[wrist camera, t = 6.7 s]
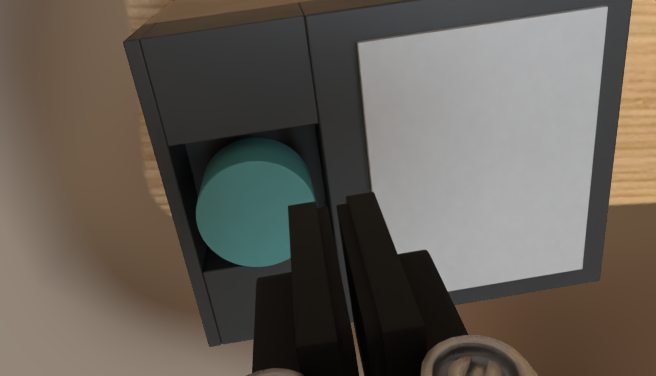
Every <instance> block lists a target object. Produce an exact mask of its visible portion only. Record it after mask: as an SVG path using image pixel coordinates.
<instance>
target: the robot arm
mask: <svg viewBox="0 0 656 376" xmlns="http://www.w3.org/2000/svg"><path fill="white" fill-rule="evenodd" d="M336 207H337V215H338V221H339V228H340V235H341V241H342V248H343V255H344V262H345V268H346V275H347V282H348V289H349V295H350V302H351V309H352V315H353V322H354V327H355V332H356V338H357V343H358V347H359V352H360V357H361V362H362V367H363V372H364V376H538V375H537V374H536V372H535V371H534V370H533V368H531V366H530V365H529V364H528V363H527V361H526V360H525V359H524V357H522V356H521V355H520V354H519V353H518V352H517V351H516V350H515V349H514V348H512V347H510V346H508V345H507V344H505V343H503V342H501V341H499V340H496V339H492V338H489V337H485V336H475V335H468V333H467V331H466V329H465V327H464V324H463V323H462V321H461V318H460V316H459V314H458V312H457V310H456V308H455V306H454V304H453V302H452V299H451V297H450V295H449V293H448V291H447V289H446V287H445V285H444V283H443V281H442V279H441V276H440V274H439V272H438V270H437V268H436V266H435V264H434V262H433V260H432V258H431V256H430V254H429V252H428V251H427V250H419V251H413V252H407V253H401V254H397V251H396V248H395V246H394V243H393V241H392V238H391V235H390V233H389V230H388V227H387V225H386V222H385V220H384V217H383V214H382V212H381V209H380V206H379V204H378V201H377V199H376V196H375V193H374V192H368V193H362V194H356V195H350V196H346V204H340V205H336ZM288 218H289V236H290V254H291V272H288V273H282V274H276V275H270V276H264V277H258V278H257V281H256V299H255V321H254V344H253V367H252V374H249V375H247V376H359V372H358V365H357V359H356V353H355V346H354V341H353V335H352V329H351V324H350V318H349V313H348V308H347V303H346V298H345V293H344V288H343V283H342V278H341V272H340V267H339V262H338V257H337V252H336V247H335V242H334V237H333V232H332V227H331V222H330V216H329V211H328V207H322V208H317V207H316V202H315V201H313V202H307V203H301V204H295V205H289V206H288Z"/></svg>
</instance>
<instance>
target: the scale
mask: <svg viewBox="0 0 656 376" xmlns="http://www.w3.org/2000/svg"><path fill="white" fill-rule="evenodd" d="M631 7H632V0H316V1H309V2H302V3H300V4H298V3H294V4H287V5H280V6H273V7H266V8H259V9H252V10H245V11H238V12H231V13H224V14H217V15H210V16H203V17H196V18H189V19H183V20H176V21H169V22H162V23H157V24H148V25H143V26H141V27H140V28H139V29H138V30H137V31H135V32H134V33H133V34H132V35H131V36H129V37H128V38H127V39H126V40H125V41H124V42H123V44H124V48H125V51H126V55H127V58H128V62H129V65H130V69H131V72H132V76H133V79H134V83H135V87H136V90H137V94H138V97H139V101H140V104H141V108H142V111H143V115H144V118H145V122H146V125H147V129H148V132H149V136H150V139H151V143H152V147H153V150H154V154H155V157H156V161H157V164H158V168H159V171H160V175H161V178H162V182H163V185H164V189H165V192H166V196H167V199H168V203H169V207H170V210H171V214H172V217H173V221H174V224H175V228H176V231H177V235H178V238H179V241H180V245H181V249H182V252H183V256H184V259H185V263H186V267H187V270H188V273H189V277H190V280H191V284H192V288H193V291H194V295H195V298H196V301H197V305H198V309H199V312H200V316H201V319H202V323H203V327H204V330H205V333H206V337H207V341H208V344H209V346H210V347H212V346H217V345H221V343H222V344H228V343H233V342H240V341H246V340H252V339H254V321H255V299H256V281H257V278H258V277H264V276H270V275H276V274H282V273H288V272H291V258H289V259H287V260H285V261H283V262H281V263H278V264H275V265H270V266H264V267H249V266H242V265H238V264H235V263H232V262H230V261H228V260H225V259H223V258H222V257H220V256H219V255H217V254H216V253H215V252H214V251H213V250H211V248H210V247H209V246H208V245H207V244H206V243H205V241H204V240H203V238H202V236H201V234H200V232H199V229H198V226H197V222H196V205H197V201H198V196H199V192H200V188H201V184H202V179H203V176H204V172H205V170H206V167H207V165H208V164H209V162H210V160H211V159H212V158H213V157H214V156H215V154H216V153H218V152H219V151H220V150H221V149H222V148H224V147H225V146H227V145H229V144H231V143H233V142H236V141H238V140H242V139H247V138H267V139H272V140H275V141H278V142H281V143H283V144H285V145H287V146H288V147H290V148H291V149H293V150H294V151H295V152H296V153H297V154H298V155H299V156H300V157H301V158H302V159H303V161H304V162H305V164H306V166H307V167H308V170H309V172H310V176H311V180H312V185H313V190H314V195H315V201H316V206H317V208H322V207H328V211H329V216H330V222H331V227H332V232H333V237H334V242H335V247H336V252H337V257H338V262H339V267H340V272H341V278H342V283H343V288H344V293H345V298H346V303H347V308H348V313H349V318H350V323H352V322H353V315H352V309H351V302H350V295H349V289H348V282H347V275H346V268H345V262H344V255H343V248H342V241H341V235H340V228H339V221H338V215H337V207H336V205H340V204H346V196H350V195H356V194H362V193H368V192H374V193H375V196H376V199H377V201H378V204H379V206H380V209H381V212H382V214H383V217H384V220H385V222H386V225H387V227H388V230H389V233H390V235H391V238H392V241H393V243H394V246H395V248H396V251H397V254H401V253H407V252H413V251H419V250H427V251H428V252H429V254H430V256H431V258H432V260H433V262H434V264H435V266H436V268H437V270H438V272H439V274H440V276H441V279H442V281H443V283H444V285H445V287H446V289H447V291H448V293H449V295H450V297H451V299H452V302H453V304H454V305H459V304H464V303H471V302H476V301H482V300H488V299H494V298H500V297H506V296H512V295H518V294H524V293H529V292H536V291H542V290H547V289H553V288H559V287H565V286H571V285H577V284H582V283H588V282H595V281H599V279H600V273H601V264H602V256H603V248H604V239H605V230H606V222H607V213H608V205H609V196H610V187H611V179H612V170H613V162H614V153H615V145H616V136H617V127H618V119H619V110H620V102H621V93H622V84H623V76H624V67H625V59H626V50H627V41H628V33H629V24H630V16H631Z"/></svg>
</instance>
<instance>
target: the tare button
mask: <svg viewBox="0 0 656 376" xmlns="http://www.w3.org/2000/svg"><path fill="white" fill-rule="evenodd" d="M313 201H315V195H314V190H313V185H312V180H311V176H310V172H309V170H308V167H307V166H306V164H305V162H304V161H303V159H302V158H301V157H300V156H299V155H298V154H297V153H296V152H295V151H294V150H293V149H291V148H290V147H288V146H287V145H285V144H283V143H281V142H278V141H275V140H272V139H267V138H247V139H242V140H238V141H236V142H233V143H231V144H229V145H227V146H225V147H224V148H222V149H221V150H220V151H219V152H218V153H216V154H215V156H214V157H213V158H212V159H211V160H210V162H209V164H208V165H207V167H206V170H205V172H204V176H203V179H202V184H201V188H200V192H199V196H198V201H197V205H196V222H197V226H198V229H199V232H200V234H201V236H202V238H203V240H204V241H205V243H206V244H207V245H208V246H209V247H210V248H211V250H213V251H214V252H215V253H216V254H217V255H219V256H220V257H222V258H223V259H225V260H228V261H230V262H232V263H235V264H238V265H242V266H249V267H264V266H270V265H275V264H278V263H281V262H283V261H285V260H287V259H289V258H291V254H290V236H289V218H288V206H289V205H295V204H301V203H307V202H313ZM315 202H316V201H315ZM316 207H317V206H316Z"/></svg>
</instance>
